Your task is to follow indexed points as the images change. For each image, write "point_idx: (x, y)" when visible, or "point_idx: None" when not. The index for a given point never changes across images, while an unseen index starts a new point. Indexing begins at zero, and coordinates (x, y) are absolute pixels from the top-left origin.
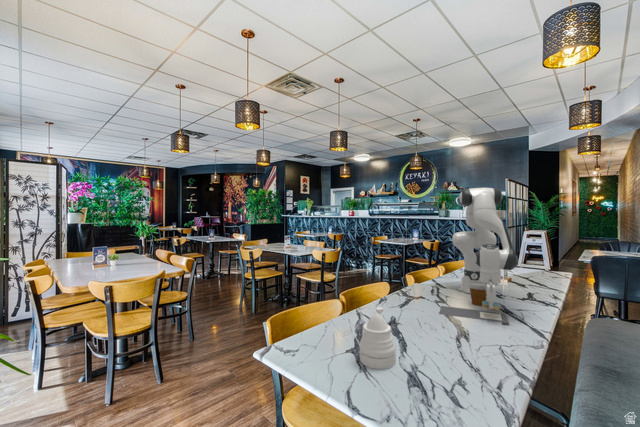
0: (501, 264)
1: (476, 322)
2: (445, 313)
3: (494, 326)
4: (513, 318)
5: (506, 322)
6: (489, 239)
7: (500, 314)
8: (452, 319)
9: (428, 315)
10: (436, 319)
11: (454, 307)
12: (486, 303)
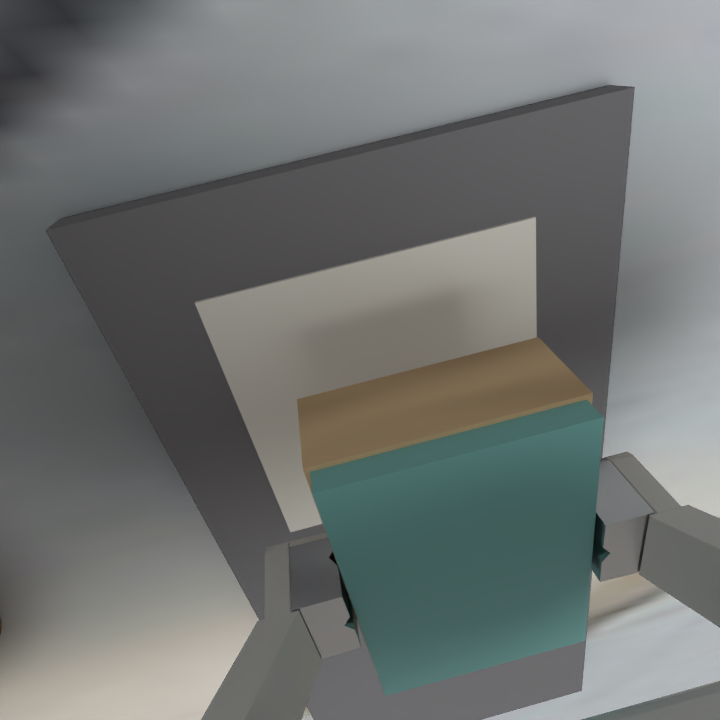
0: None
1: (631, 446)
2: (546, 674)
3: (713, 264)
4: (123, 57)
5: (603, 134)
6: None
7: (206, 302)
8: (620, 594)
9: (590, 702)
10: (663, 649)
11: (309, 705)
12: (551, 610)
